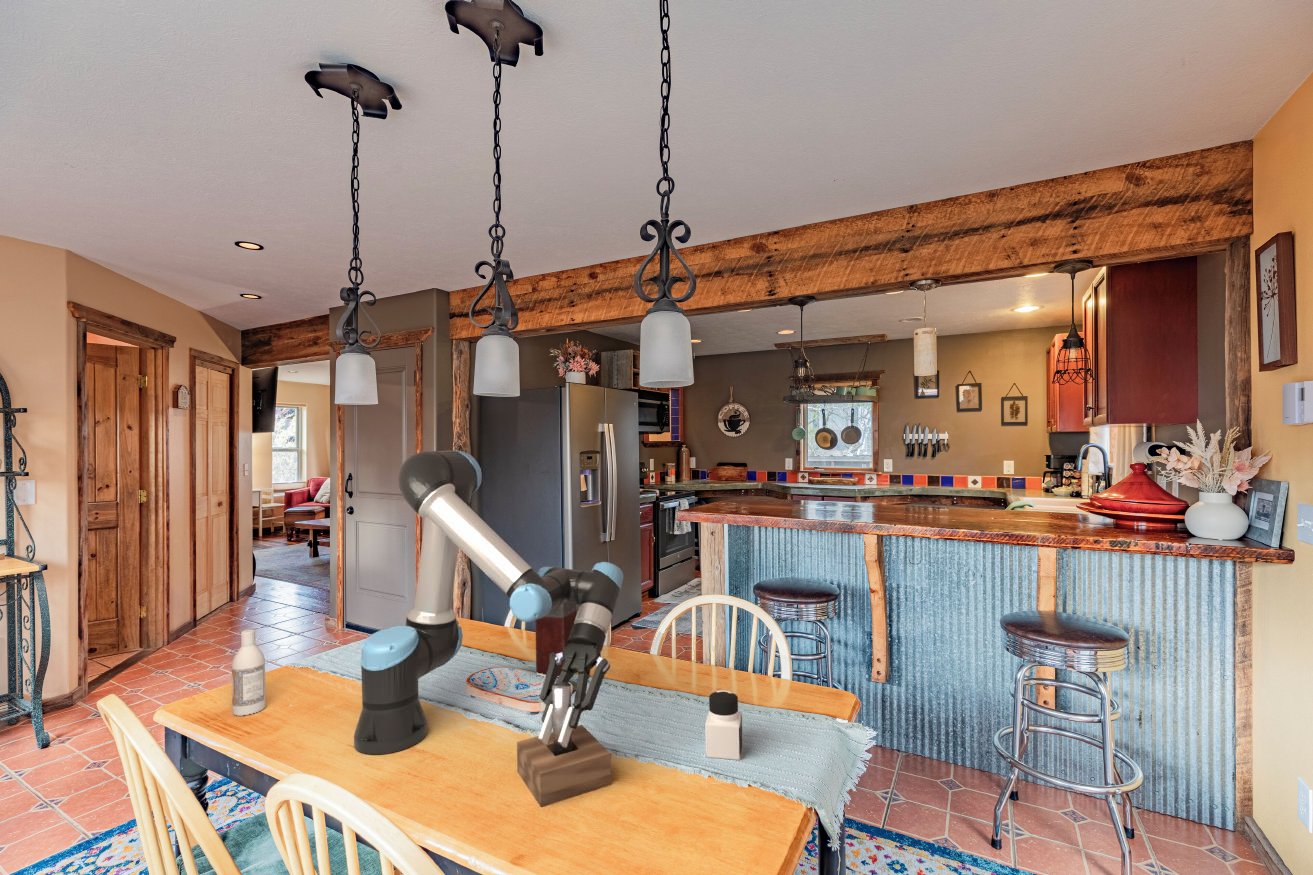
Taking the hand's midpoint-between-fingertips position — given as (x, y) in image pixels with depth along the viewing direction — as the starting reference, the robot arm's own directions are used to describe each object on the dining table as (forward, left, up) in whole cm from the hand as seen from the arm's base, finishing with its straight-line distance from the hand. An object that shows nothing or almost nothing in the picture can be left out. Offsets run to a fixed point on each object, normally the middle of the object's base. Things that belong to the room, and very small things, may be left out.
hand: (552, 742), depth 117 cm
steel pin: (-2, +3, -5) cm, 6 cm away
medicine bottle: (+6, +36, -9) cm, 37 cm away
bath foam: (-73, -53, -9) cm, 91 cm away
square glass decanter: (-57, +23, -9) cm, 62 cm away
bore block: (-2, +3, -9) cm, 9 cm away
